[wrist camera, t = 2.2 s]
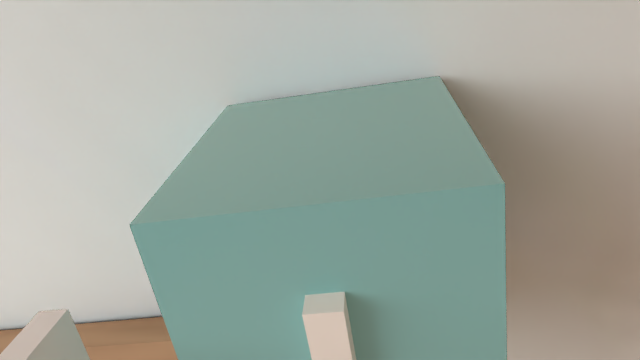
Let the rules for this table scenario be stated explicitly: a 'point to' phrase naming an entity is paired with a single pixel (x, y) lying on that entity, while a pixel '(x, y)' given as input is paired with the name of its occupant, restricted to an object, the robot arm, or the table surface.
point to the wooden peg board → (119, 339)
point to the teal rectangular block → (332, 232)
